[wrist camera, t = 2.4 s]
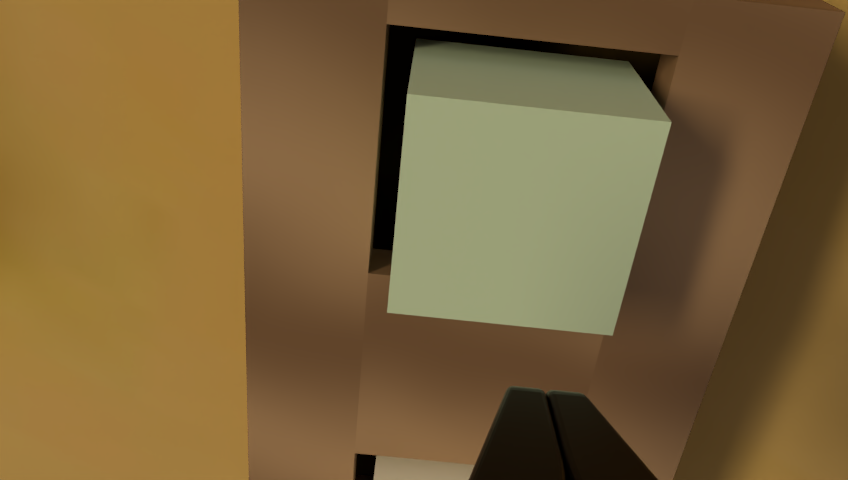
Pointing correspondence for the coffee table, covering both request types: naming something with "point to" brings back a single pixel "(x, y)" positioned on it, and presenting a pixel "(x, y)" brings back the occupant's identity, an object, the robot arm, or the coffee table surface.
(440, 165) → the pale green block
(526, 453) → the robot arm
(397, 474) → the cream square block
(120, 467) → the coffee table surface
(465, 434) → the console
